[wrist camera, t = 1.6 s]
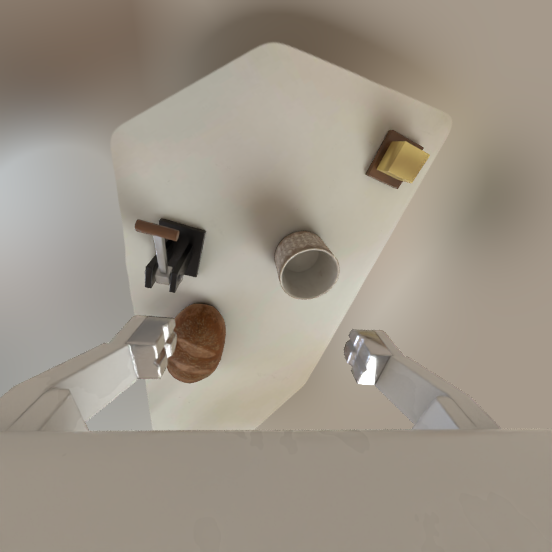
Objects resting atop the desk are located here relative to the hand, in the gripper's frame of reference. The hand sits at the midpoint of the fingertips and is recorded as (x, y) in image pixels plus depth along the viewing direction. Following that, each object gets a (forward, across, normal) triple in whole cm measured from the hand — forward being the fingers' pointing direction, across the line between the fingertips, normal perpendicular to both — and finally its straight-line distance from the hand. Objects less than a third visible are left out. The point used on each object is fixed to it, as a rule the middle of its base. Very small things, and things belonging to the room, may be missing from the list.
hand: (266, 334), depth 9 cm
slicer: (+38, +17, +11) cm, 43 cm away
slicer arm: (+25, +15, +7) cm, 30 cm away
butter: (+38, -26, -13) cm, 48 cm away
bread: (+42, +15, +40) cm, 60 cm away
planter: (+40, -10, +9) cm, 42 cm away
